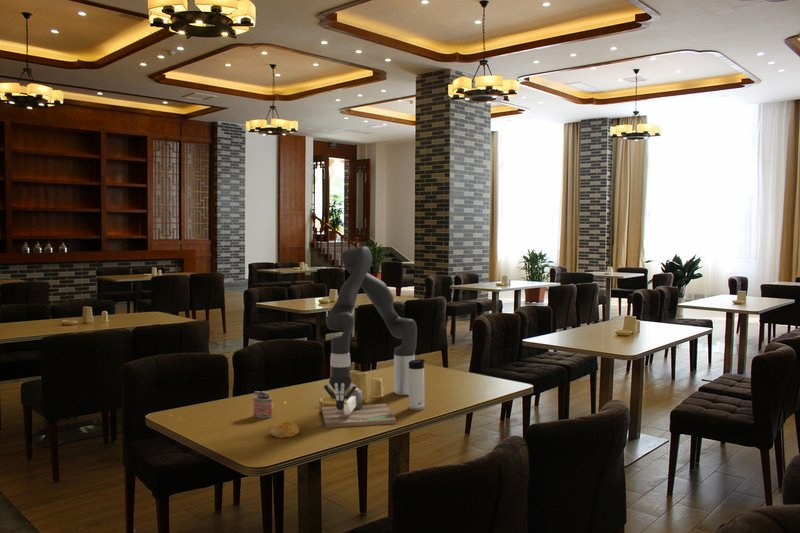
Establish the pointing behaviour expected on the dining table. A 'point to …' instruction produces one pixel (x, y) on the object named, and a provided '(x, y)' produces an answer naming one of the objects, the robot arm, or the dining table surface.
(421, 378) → the travel mug
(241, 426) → the dining table surface
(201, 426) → the dining table surface
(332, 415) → the wooden cutting board
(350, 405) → the mallet
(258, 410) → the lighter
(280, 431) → the golden round bun
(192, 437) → the dining table surface
